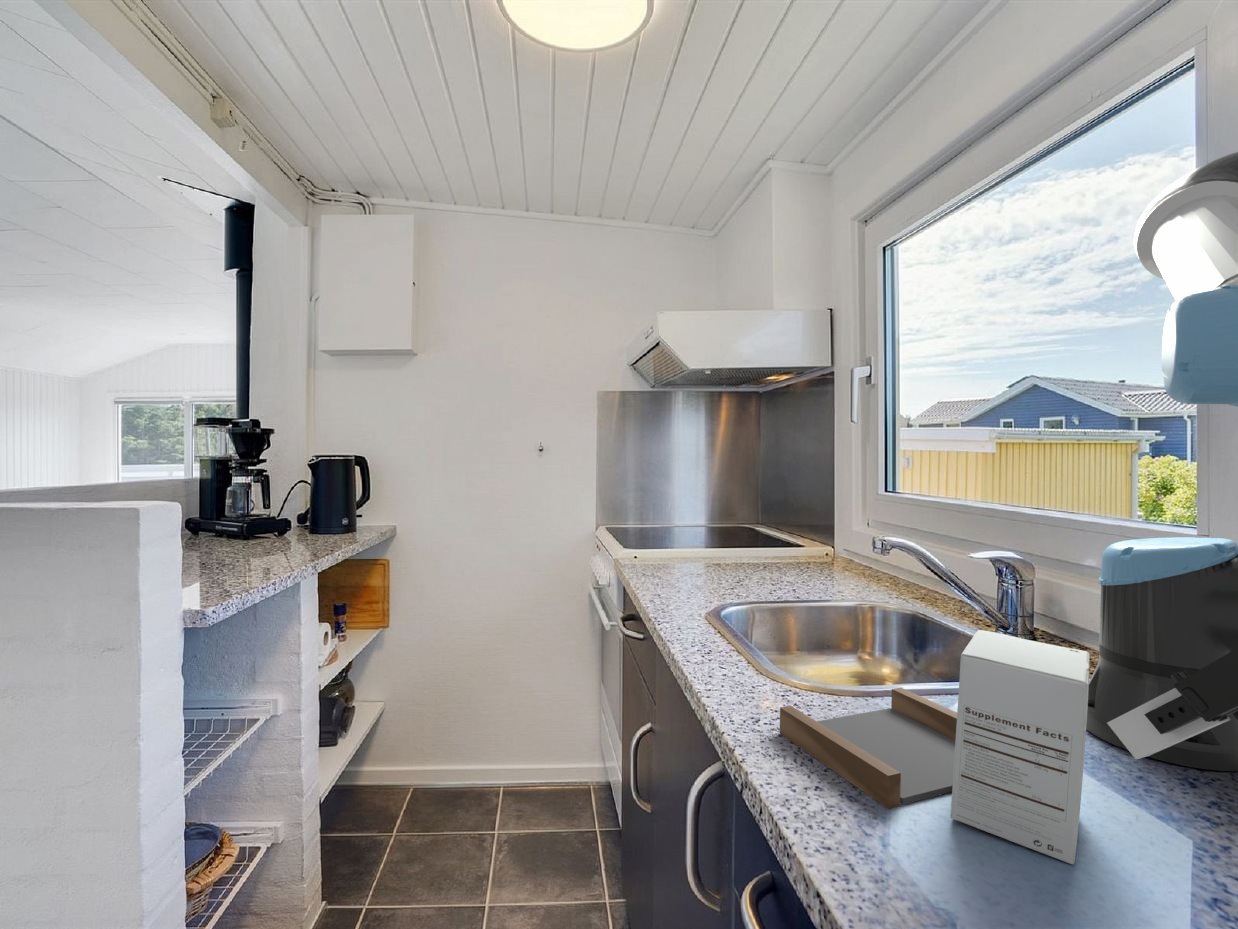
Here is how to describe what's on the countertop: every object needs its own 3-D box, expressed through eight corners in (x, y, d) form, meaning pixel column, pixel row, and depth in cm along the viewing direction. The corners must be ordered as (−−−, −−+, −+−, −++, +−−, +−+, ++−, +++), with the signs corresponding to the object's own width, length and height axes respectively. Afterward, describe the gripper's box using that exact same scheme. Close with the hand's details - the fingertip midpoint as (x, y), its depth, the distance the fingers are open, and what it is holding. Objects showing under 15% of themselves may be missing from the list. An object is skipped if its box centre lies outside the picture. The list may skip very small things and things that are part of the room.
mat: (889, 712, 75) (889, 708, 75) (1014, 775, 60) (1014, 769, 60) (792, 731, 70) (792, 725, 70) (902, 804, 55) (902, 798, 55)
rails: (900, 711, 76) (900, 687, 76) (1025, 772, 61) (1026, 743, 61) (779, 733, 69) (780, 707, 69) (887, 808, 54) (888, 775, 54)
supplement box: (965, 775, 59) (976, 626, 58) (1079, 814, 54) (1092, 650, 53) (946, 818, 52) (957, 651, 51) (1075, 869, 47) (1090, 681, 46)
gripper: (1584, 629, 24) (1112, 811, 40) (1673, 604, 29) (1221, 776, 45) (1383, 492, 29) (1033, 702, 45) (1487, 490, 34) (1138, 681, 50)
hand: (1127, 739), depth 45 cm, fingers closed
